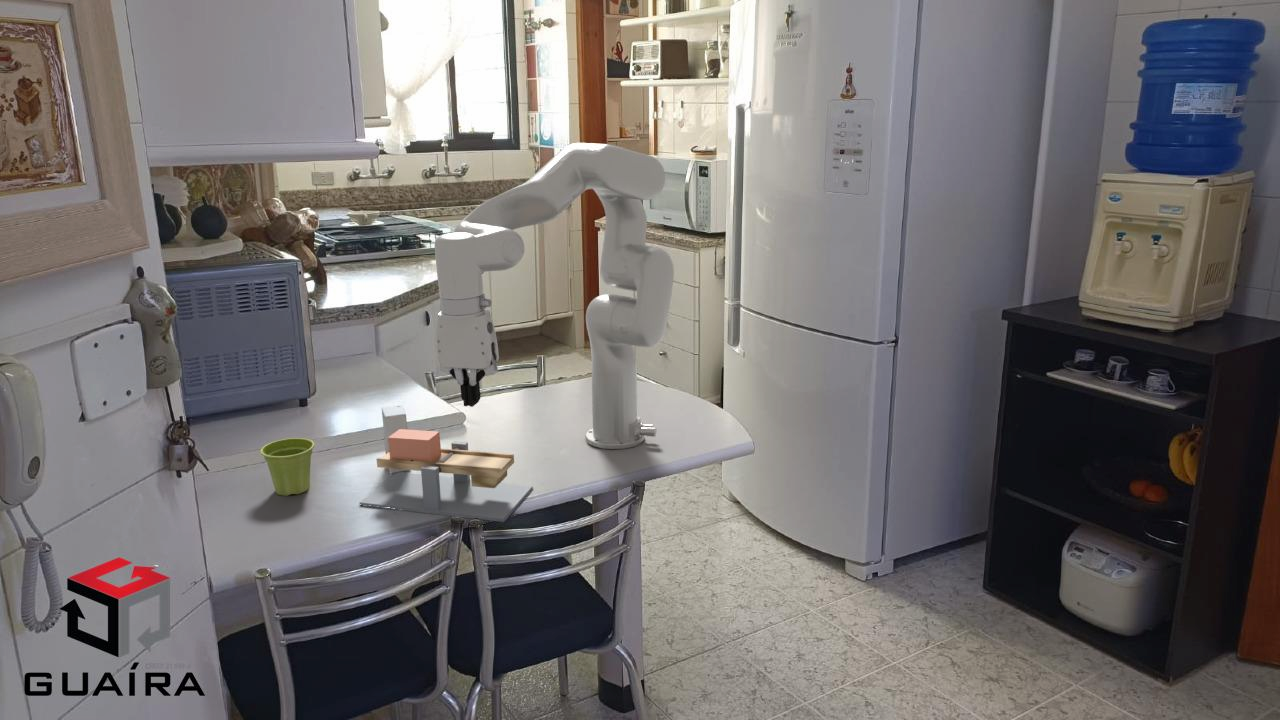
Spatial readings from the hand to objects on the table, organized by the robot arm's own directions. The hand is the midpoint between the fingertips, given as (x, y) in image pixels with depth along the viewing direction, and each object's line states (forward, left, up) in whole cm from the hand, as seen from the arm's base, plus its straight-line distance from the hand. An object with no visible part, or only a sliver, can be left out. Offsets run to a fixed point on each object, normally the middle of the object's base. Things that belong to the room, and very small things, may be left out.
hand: (471, 403), depth 169 cm
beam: (+5, +1, -14) cm, 15 cm away
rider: (+11, +1, -11) cm, 16 cm away
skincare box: (+21, -10, -19) cm, 30 cm away
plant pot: (+35, +5, -19) cm, 40 cm away
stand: (+5, +1, -18) cm, 19 cm away
